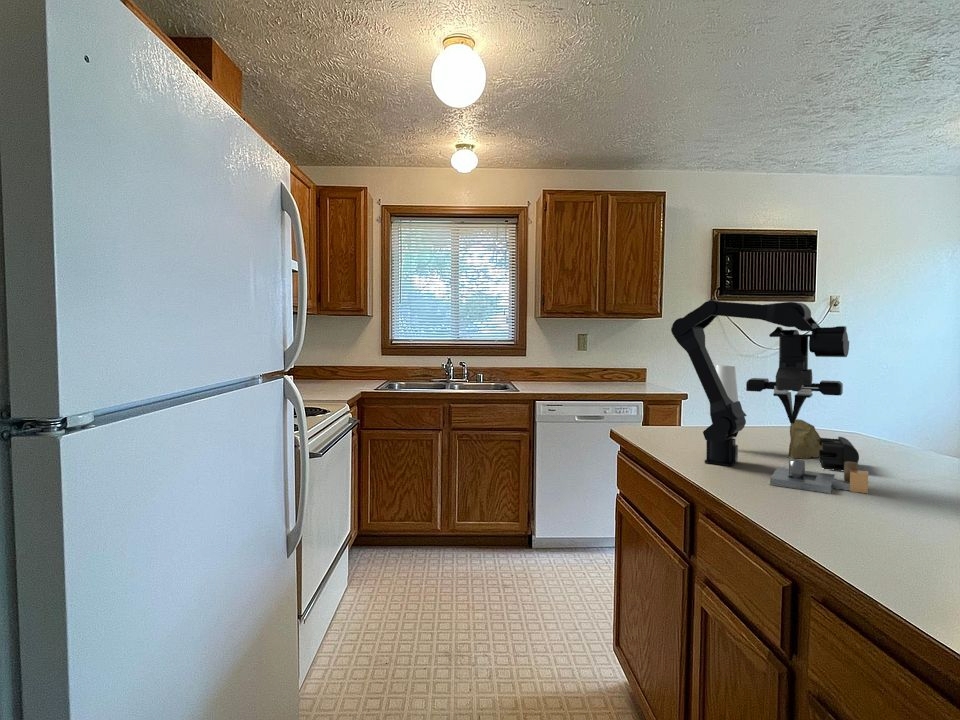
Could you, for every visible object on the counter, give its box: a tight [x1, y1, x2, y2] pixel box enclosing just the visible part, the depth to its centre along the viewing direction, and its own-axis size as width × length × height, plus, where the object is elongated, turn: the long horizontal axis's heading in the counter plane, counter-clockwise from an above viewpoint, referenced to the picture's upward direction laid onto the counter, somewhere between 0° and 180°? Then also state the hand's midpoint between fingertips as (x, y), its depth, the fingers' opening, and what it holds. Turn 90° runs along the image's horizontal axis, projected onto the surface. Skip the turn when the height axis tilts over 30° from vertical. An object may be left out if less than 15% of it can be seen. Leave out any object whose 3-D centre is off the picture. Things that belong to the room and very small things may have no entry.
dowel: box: [843, 461, 859, 481], centre depth 111 cm, size 2×2×5 cm
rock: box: [788, 419, 823, 459], centre depth 137 cm, size 11×9×10 cm
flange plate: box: [769, 467, 869, 495], centre depth 111 cm, size 17×11×4 cm, turn 52°
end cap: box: [818, 436, 860, 471], centre depth 126 cm, size 10×7×7 cm
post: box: [788, 458, 806, 479], centre depth 113 cm, size 3×3×5 cm
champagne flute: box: [715, 364, 739, 402], centre depth 147 cm, size 7×7×24 cm
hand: (792, 423), depth 120 cm, fingers closed
